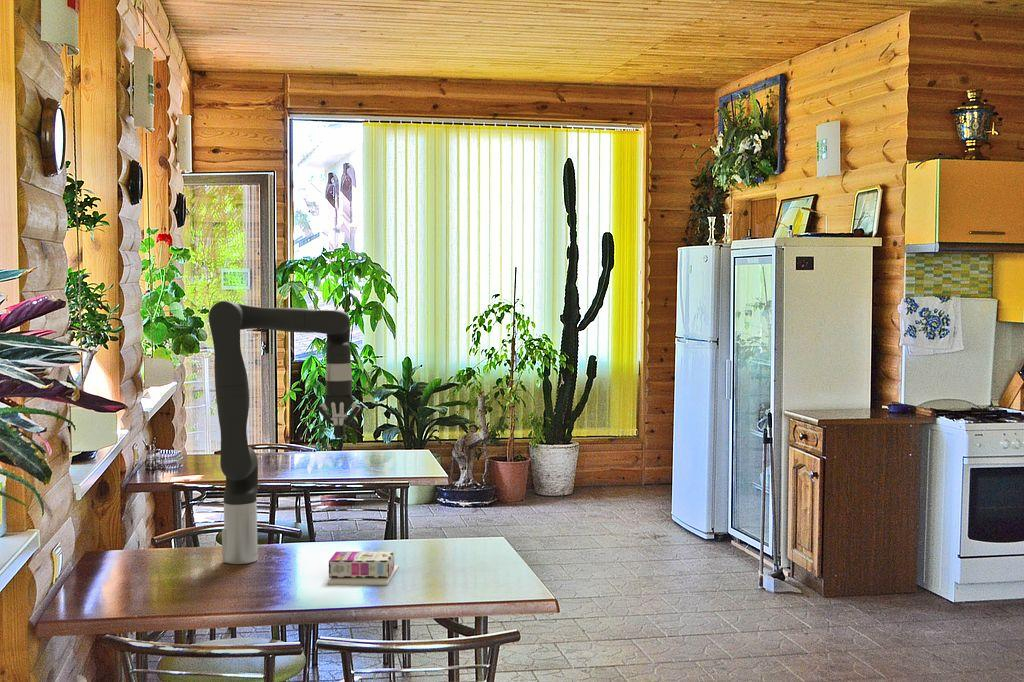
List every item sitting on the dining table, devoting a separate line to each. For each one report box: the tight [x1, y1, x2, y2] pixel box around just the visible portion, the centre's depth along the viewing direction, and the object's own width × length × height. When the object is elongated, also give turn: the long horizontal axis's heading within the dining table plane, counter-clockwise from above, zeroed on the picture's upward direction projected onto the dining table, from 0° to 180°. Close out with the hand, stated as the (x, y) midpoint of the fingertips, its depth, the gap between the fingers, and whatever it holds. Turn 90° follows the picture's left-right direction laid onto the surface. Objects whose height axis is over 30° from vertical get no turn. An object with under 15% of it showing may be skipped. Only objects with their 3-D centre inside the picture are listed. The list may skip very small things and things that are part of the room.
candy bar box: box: [328, 550, 395, 579], centre depth 296 cm, size 11×5×16 cm
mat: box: [327, 564, 400, 586], centre depth 296 cm, size 16×18×1 cm
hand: (339, 437), depth 315 cm, fingers closed
